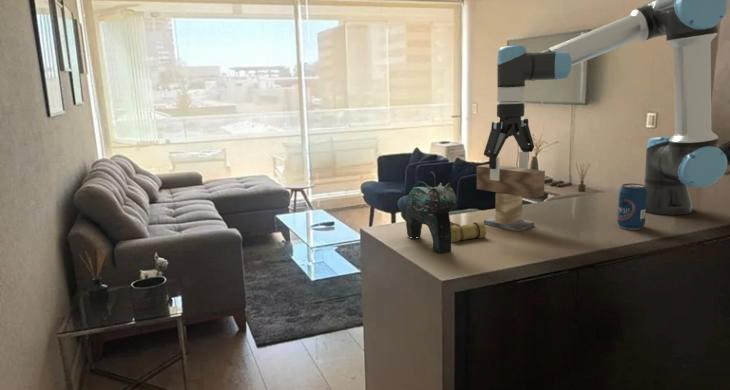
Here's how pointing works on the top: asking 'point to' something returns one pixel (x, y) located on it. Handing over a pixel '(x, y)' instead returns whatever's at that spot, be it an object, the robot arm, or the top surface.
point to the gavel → (467, 231)
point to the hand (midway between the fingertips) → (509, 176)
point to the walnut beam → (512, 181)
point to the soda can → (632, 206)
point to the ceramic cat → (431, 213)
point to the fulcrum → (508, 213)
